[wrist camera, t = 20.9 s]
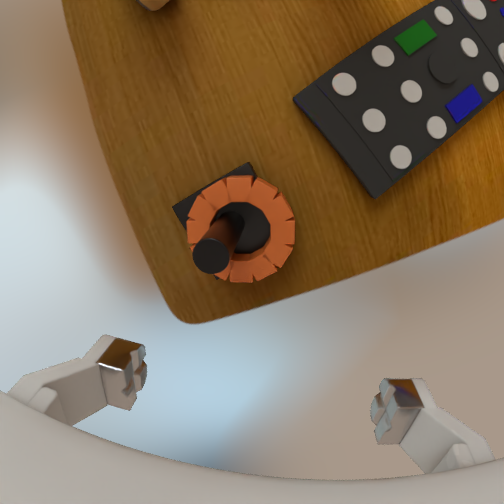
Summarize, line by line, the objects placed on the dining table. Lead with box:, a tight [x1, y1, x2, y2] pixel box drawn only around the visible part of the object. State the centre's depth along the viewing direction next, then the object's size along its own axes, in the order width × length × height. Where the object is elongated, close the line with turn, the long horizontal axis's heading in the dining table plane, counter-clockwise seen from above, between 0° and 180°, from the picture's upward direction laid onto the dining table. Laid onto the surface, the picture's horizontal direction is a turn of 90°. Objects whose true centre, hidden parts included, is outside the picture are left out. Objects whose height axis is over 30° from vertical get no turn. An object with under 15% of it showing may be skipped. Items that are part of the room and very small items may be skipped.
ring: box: [187, 175, 295, 283], centre depth 28 cm, size 9×9×2 cm
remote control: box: [293, 0, 504, 199], centre depth 22 cm, size 11×30×2 cm, turn 131°
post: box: [172, 162, 270, 280], centre depth 25 cm, size 8×8×10 cm
